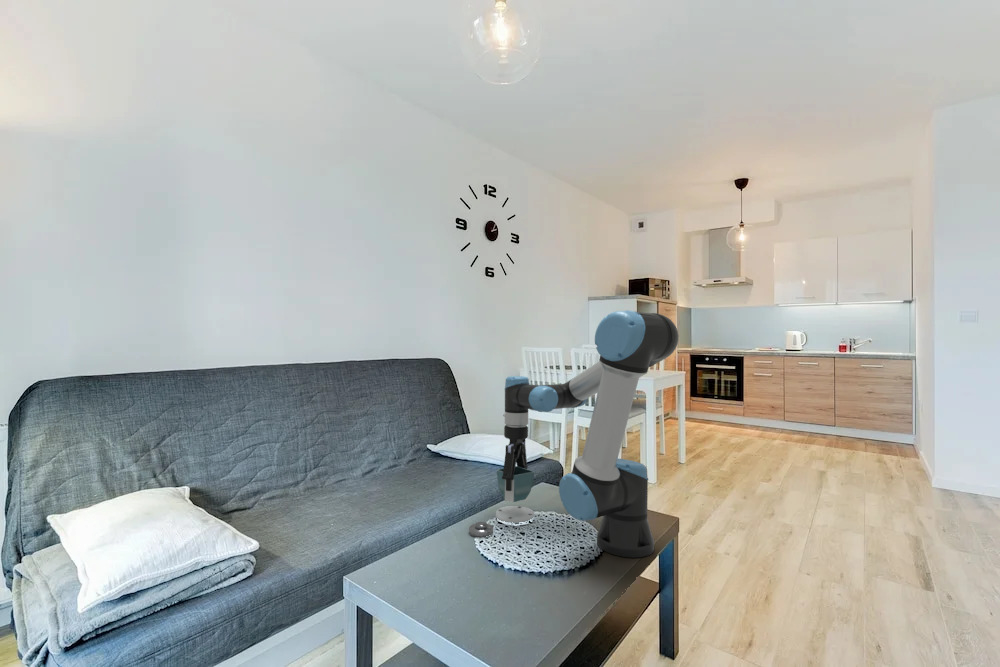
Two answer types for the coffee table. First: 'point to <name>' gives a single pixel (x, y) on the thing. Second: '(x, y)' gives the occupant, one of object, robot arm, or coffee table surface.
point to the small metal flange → (480, 529)
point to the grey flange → (514, 514)
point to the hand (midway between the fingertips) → (515, 495)
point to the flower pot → (517, 482)
